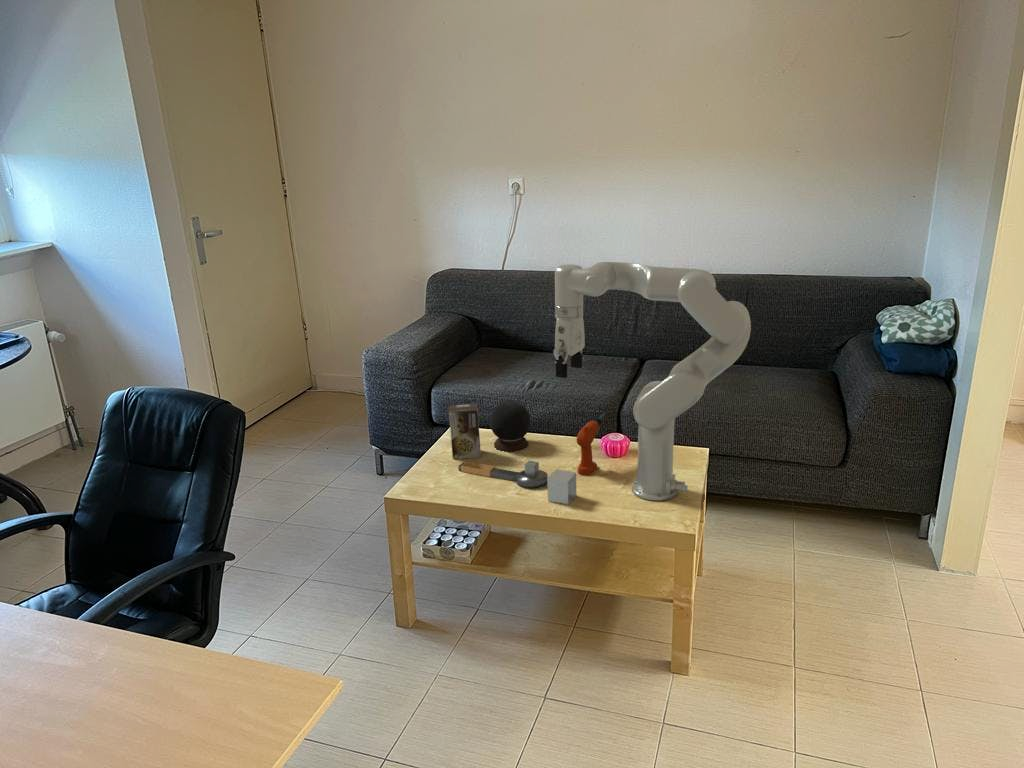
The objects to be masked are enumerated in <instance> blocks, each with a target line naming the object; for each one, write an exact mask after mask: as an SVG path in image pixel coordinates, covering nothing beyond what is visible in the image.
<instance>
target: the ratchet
mask: <svg viewBox="0 0 1024 768" xmlns="http://www.w3.org/2000/svg"><path fill="white" fill-rule="evenodd" d="M539 463H540V461H534V460H528V461H527V462H526V463H524V470H521V471H515V470H509V469H503V468H497V467H496V466H495V465H491V464H490V465H489V464H485V463H479V462H478V463H477V462H475V461H474V462H473V461H465V462H464V461H463V462H461V463H460V464H459V465H458V472H461V473H466V472H467V473H468V474H471V473H472V475H479V476H483V477H487V478H494V479H501V480H506V481H511V482H516V485H517V486H518V487H520V488H523V489H526V490H536V489H537V490H538V489H541V487H542V488H544V487H545V485H546V486H548V485H547V478H548V477H549V476H548V473H547V472H546V471H544V470H541V469H540V464H539Z"/></svg>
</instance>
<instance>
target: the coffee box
mask: <svg viewBox="0 0 1024 768" xmlns="http://www.w3.org/2000/svg"><path fill="white" fill-rule="evenodd" d="M478 411H479V410H478V404H477V403H463V404H450V405H449V406H448V419H449V430H450V441H451V455H452V456H451V458H452V460H459V459H470V458H471V459H473V458H481V457H482V451H481V441H480V440H481V438H480V427H479V412H478Z"/></svg>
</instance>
